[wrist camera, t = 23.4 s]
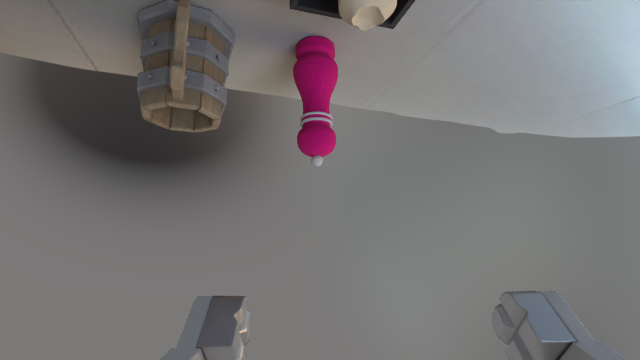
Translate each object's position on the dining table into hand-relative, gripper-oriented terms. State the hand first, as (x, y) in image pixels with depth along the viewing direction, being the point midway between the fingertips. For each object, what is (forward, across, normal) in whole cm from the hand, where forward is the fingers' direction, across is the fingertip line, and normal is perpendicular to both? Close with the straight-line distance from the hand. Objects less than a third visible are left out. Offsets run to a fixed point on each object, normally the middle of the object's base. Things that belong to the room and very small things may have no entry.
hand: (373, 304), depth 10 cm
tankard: (+43, +20, -4) cm, 48 cm away
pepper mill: (+49, +2, +1) cm, 49 cm away
